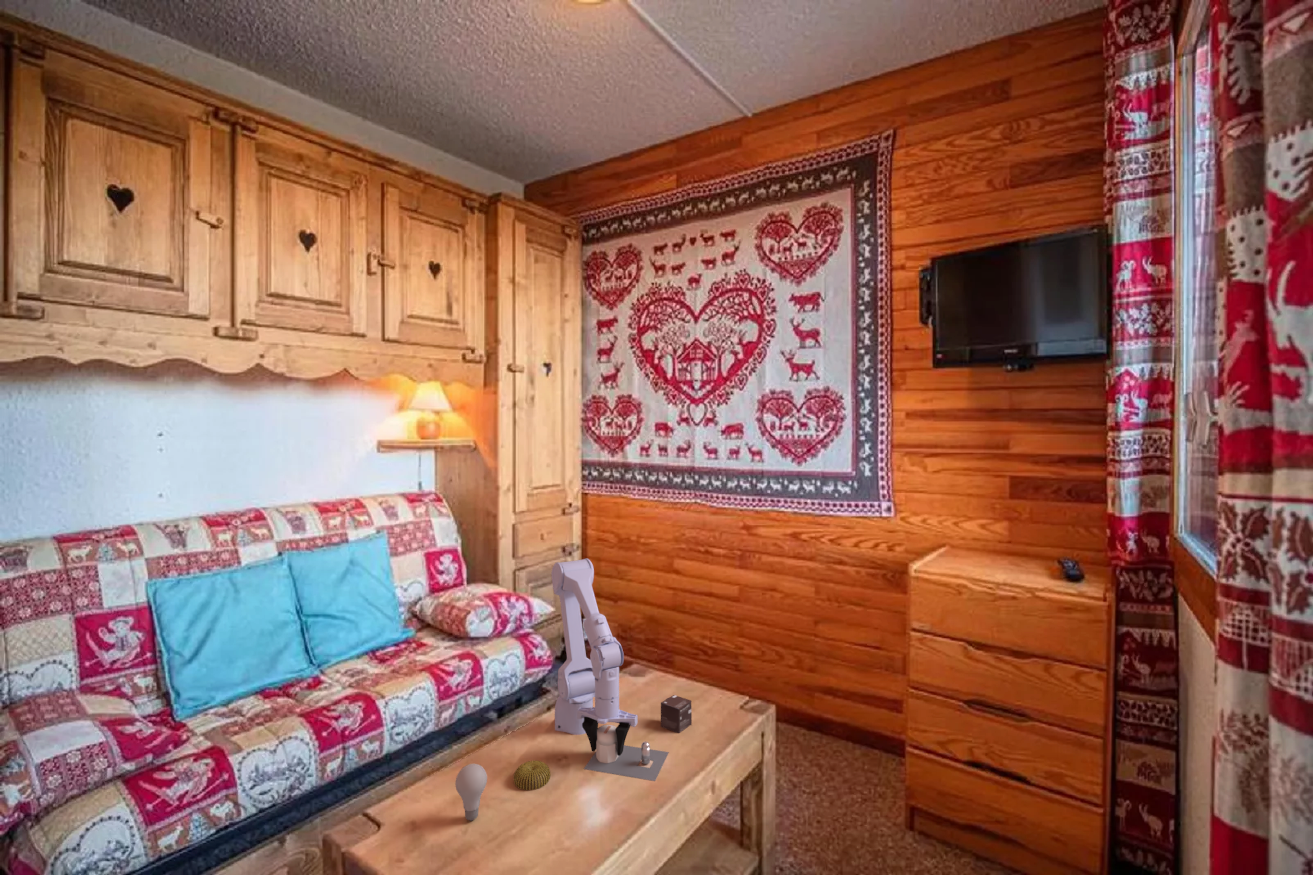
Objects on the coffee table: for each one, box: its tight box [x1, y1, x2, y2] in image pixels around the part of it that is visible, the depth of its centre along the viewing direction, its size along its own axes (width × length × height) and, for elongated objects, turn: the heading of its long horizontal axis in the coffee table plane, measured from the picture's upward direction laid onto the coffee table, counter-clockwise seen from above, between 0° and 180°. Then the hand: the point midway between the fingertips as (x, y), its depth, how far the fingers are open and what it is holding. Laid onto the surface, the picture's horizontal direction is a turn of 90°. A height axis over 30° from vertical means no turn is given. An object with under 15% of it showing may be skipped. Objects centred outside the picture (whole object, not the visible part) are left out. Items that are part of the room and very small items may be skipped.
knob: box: [595, 724, 618, 763], centre depth 141 cm, size 5×5×7 cm
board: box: [583, 744, 670, 782], centre depth 140 cm, size 17×12×1 cm
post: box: [640, 741, 651, 765], centre depth 139 cm, size 2×2×5 cm
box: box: [660, 694, 693, 734], centre depth 156 cm, size 6×6×7 cm
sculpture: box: [513, 760, 551, 791], centre depth 133 cm, size 8×4×8 cm
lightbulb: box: [454, 763, 488, 821], centre depth 121 cm, size 6×6×11 cm
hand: (607, 751), depth 141 cm, fingers open, 6 cm apart
